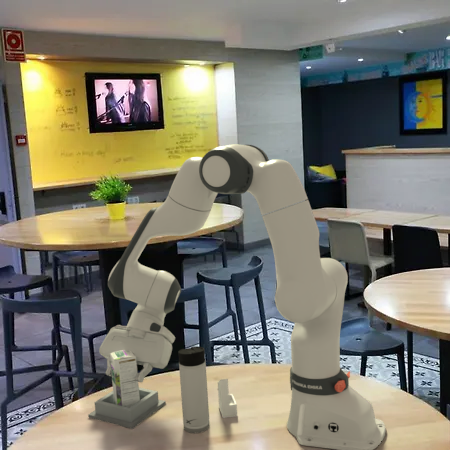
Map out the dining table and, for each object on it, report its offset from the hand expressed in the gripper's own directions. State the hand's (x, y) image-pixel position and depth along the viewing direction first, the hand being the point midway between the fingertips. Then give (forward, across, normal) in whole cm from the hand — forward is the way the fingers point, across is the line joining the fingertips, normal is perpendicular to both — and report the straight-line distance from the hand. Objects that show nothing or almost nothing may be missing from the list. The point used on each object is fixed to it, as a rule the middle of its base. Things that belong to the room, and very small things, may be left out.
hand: (123, 378), depth 150 cm
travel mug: (+6, +21, +7) cm, 23 cm away
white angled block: (-1, +24, +14) cm, 28 cm away
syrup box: (+6, 0, +6) cm, 8 cm away
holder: (+6, 0, +7) cm, 9 cm away
